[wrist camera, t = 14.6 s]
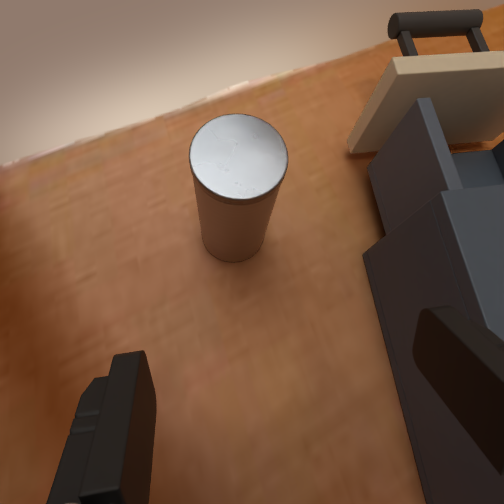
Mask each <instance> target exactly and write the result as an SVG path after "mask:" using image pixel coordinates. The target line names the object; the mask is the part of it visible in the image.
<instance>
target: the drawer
mask: <svg viewBox="0 0 504 504" xmlns="http://www.w3.org/2000/svg"><path fill="white" fill-rule="evenodd" d="M482 22H483V13H482V11H481V10H479V9H473V10H451V11H427V12H405V13H394V14H393V15H392V16H391V18H390V20H389V23H388V36H389V38H390V39H397V40H398V43H399V46H400V49H401V52H402V55H403V57H393V58H392V59H391V61H390V62H389V64H388V66H387V68H386V70H385V72H384V73H383V75H382V77H381V79H380V81H379V82H378V84H377V86H376V88H375V90H374V92H373V93H372V95H371V97H370V99H369V101H368V102H367V104H366V106H365V108H364V110H363V112H362V113H361V115H360V117H359V119H358V121H357V122H356V124H355V126H354V128H353V130H352V132H351V133H350V135H349V137H348V139H347V143H348V147H349V150H350V153H351V154H353V153H364V152H374V151H379V152H378V153H377V154H376V156H375V157H374V158H373V160H372V161H371V162H370V164H369V165H368V166H367V169H368V173H369V177H370V180H371V184H372V187H373V191H374V194H375V198H376V201H377V205H378V208H379V212H380V216H381V219H382V223H383V226H384V230H385V233H386V235H387V234H388V233H389V232H391V231H392V230H393V229H394V228H396V227H397V226H398V225H399V224H400V223H402V222H403V221H404V220H405V219H407V218H408V217H409V216H410V215H412V214H413V213H414V212H415V211H417V210H418V209H419V208H420V207H422V206H423V205H424V204H425V203H427V202H428V201H429V200H431V199H432V198H433V197H434V196H435V195H437V194H438V193H439V192H441V191H448V190H457V189H466V188H475V187H484V186H493V185H503V184H504V140H503V141H502V142H500V143H499V144H498V145H497V146H495V147H494V148H493V149H492V150H484V151H474V152H464V153H453V154H451V153H450V150H449V147H448V145H449V144H460V143H471V142H482V141H492V140H494V139H495V138H496V137H498V136H499V135H500V134H501V133H502V132H504V51H489V49H488V46H487V44H486V42H485V40H484V37H483V35H482V33H481V31H480V27H481V25H482ZM465 35H466V37H467V39H468V41H469V44H470V46H471V48H472V51H473V53H456V54H439V55H422V56H418V53H417V51H416V48H415V45H414V42H413V40H412V38H427V37H446V36H465Z"/></svg>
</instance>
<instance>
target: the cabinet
mask: <svg viewBox="0 0 504 504" xmlns="http://www.w3.org/2000/svg"><path fill="white" fill-rule="evenodd" d="M363 258H364V262H365V266H366V270H367V274H368V278H369V281H370V285H371V289H372V293H373V297H374V301H375V305H376V309H377V312H378V316H379V320H380V324H381V328H382V332H383V336H384V340H385V344H386V347H387V351H388V355H389V359H390V363H391V367H392V371H393V375H394V378H395V382H396V386H397V390H398V394H399V398H400V402H401V406H402V410H403V413H404V417H405V421H406V425H407V429H408V433H409V437H410V441H411V445H412V448H413V452H414V456H415V460H416V464H417V468H418V472H419V476H420V479H421V483H422V487H423V491H424V495H425V499H426V503H427V504H504V475H503V476H500V474H499V473H498V472H497V470H496V469H495V468H494V467H493V465H492V464H491V463H490V461H489V460H488V459H487V458H486V456H485V455H484V454H483V452H482V451H481V450H480V448H479V447H478V446H477V445H476V443H475V442H474V441H473V439H472V438H471V437H470V436H469V434H468V433H467V432H466V430H465V429H464V428H463V426H462V425H461V424H460V423H459V421H458V420H457V419H456V417H455V416H454V415H453V414H452V412H451V411H450V410H449V408H448V407H447V406H446V404H445V403H444V402H443V401H442V399H441V398H440V397H439V395H438V394H437V393H436V392H435V390H434V389H433V388H432V386H431V385H430V384H429V382H428V381H427V380H426V379H425V377H424V376H423V375H422V373H421V372H420V371H419V369H418V368H417V366H416V364H415V362H414V359H413V354H412V346H413V342H414V337H415V332H416V327H417V322H418V317H419V313H420V311H421V310H422V309H424V308H431V307H437V306H444V305H450V306H452V307H454V308H455V309H456V310H457V311H458V312H460V313H461V314H462V315H463V316H464V317H465V318H466V319H467V320H472V321H474V322H476V323H478V324H480V325H482V326H484V327H486V328H488V329H490V330H491V331H492V332H493V333H495V334H496V335H497V336H498V337H499V338H500V339H502V340H503V341H504V184H503V185H493V186H484V187H475V188H466V189H457V190H448V191H441V192H439V193H438V194H437V195H435V196H434V197H433V198H432V199H431V200H429V201H428V202H427V203H425V204H424V205H423V206H422V207H420V208H419V209H418V210H417V211H415V212H414V213H413V214H412V215H410V216H409V217H408V218H407V219H405V220H404V221H403V222H402V223H400V224H399V225H398V226H397V227H396V228H394V229H393V230H392V231H391V232H389V233H388V234H387V235H386V236H384V237H383V238H382V239H381V240H379V241H378V242H377V243H376V244H374V245H373V246H372V247H371V248H369V249H368V250H367V251H366V252H365V253H363Z"/></svg>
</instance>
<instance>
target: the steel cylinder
mask: <svg viewBox="0 0 504 504" xmlns="http://www.w3.org/2000/svg"><path fill="white" fill-rule="evenodd" d="M189 163H190V168H191V173H192V175H193V181H194V187H195V194H196V200H197V207H198V213H199V220H200V226H201V233H202V239H203V242H204V245H205V247H206V248H207V250H208V251H209V252H210V253H211V254H212V255H213V256H215V257H216V258H218V259H220V260H223V261H226V262H240V261H244V260H246V259H248V258H250V257H251V256H253V255H254V254H255V253H256V252H257V251H258V250H259V248H260V246H261V244H262V241H263V238H264V235H265V232H266V229H267V226H268V223H269V219H270V216H271V213H272V210H273V207H274V204H275V201H276V198H277V195H278V191H279V188H280V185H281V183H282V181H283V179H284V176H285V173H286V170H287V166H288V151H287V148H286V145H285V143H284V140H283V139H282V137H281V135H280V134H279V133H278V132H277V130H275V129H274V128H273V127H272V126H271V125H270V124H268V123H267V122H265V121H263V120H262V119H259V118H257V117H254V116H251V115H246V114H228V115H223V116H219V117H217V118H214V119H212V120H210V121H209V122H207V123H206V124H204V125H203V126H202V127H201V128H200V129H199V130H198V132H197V133H196V134H195V136H194V138H193V140H192V142H191V145H190V149H189Z"/></svg>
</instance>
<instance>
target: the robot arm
mask: <svg viewBox="0 0 504 504" xmlns="http://www.w3.org/2000/svg"><path fill="white" fill-rule="evenodd" d="M412 354H413V359H414V362H415V364H416V366H417V368H418V369H419V371H420V372H421V373H422V375H423V376H424V377H425V379H426V380H427V381H428V382H429V384H430V385H431V386H432V388H433V389H434V390H435V392H436V393H437V394H438V395H439V397H440V398H441V399H442V401H443V402H444V403H445V404H446V406H447V407H448V408H449V410H450V411H451V412H452V414H453V415H454V416H455V417H456V419H457V420H458V421H459V423H460V424H461V425H462V426H463V428H464V429H465V430H466V432H467V433H468V434H469V436H470V437H471V438H472V439H473V441H474V442H475V443H476V445H477V446H478V447H479V448H480V450H481V451H482V452H483V454H484V455H485V456H486V458H487V459H488V460H489V461H490V463H491V464H492V465H493V467H494V468H495V469H496V470H497V472H498V473H499V474H500V476H503V475H504V341H503V340H502V339H500V338H499V337H498V336H497V335H496V334H495V333H493V332H492V331H491V330H490V329H488V328H486V327H484V326H482V325H480V324H478V323H476V322H474V321H472V320H467V319H466V318H465V317H464V316H463V315H462V314H461V313H460V312H458V311H457V310H456V309H455V308H454V307H452V306H450V305H444V306H437V307H431V308H424V309H422V310H421V311H420V313H419V317H418V322H417V327H416V332H415V337H414V342H413V346H412ZM155 423H156V394H155V389H154V385H153V381H152V377H151V373H150V369H149V365H148V361H147V357H146V354H145V352H144V351H143V350H142V351H136V352H129V353H122V354H116V355H114V357H113V360H112V364H111V368H110V371H109V375H108V376H105V377H99V378H94V380H93V381H92V382H91V384H90V385H89V386H88V387H87V389H86V390H85V391H84V393H83V394H82V395H81V397H80V401H79V404H78V407H77V410H76V413H75V419H73V422H72V425H71V429H70V435H69V436H68V438H67V441H66V444H65V447H64V450H63V453H62V457H61V460H60V463H59V466H58V469H57V472H56V475H55V478H54V481H53V484H52V488H51V491H50V494H49V497H48V500H47V503H46V504H149V492H150V481H151V469H152V458H153V446H154V435H155Z"/></svg>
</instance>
